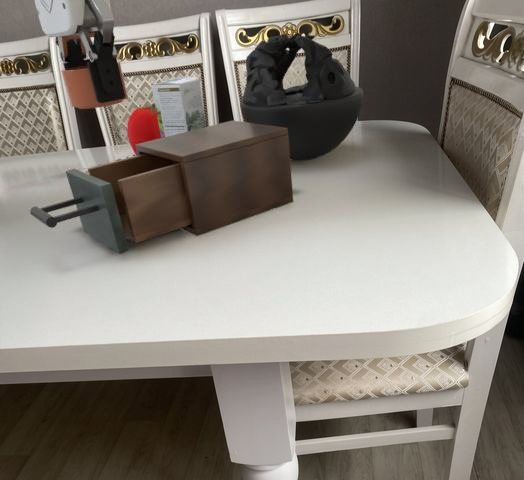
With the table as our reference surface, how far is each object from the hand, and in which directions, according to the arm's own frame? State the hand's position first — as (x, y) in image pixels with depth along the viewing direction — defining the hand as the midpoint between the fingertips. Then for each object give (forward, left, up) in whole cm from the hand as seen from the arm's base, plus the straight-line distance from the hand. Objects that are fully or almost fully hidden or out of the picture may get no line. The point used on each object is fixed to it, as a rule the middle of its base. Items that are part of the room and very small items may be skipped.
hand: (98, 97), depth 61 cm
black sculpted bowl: (+36, +7, -16) cm, 40 cm away
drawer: (-1, -3, -15) cm, 16 cm away
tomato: (+21, +31, -16) cm, 41 cm away
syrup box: (+20, +19, -16) cm, 32 cm away
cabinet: (+12, -3, -16) cm, 20 cm away
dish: (0, 0, -1) cm, 1 cm away
